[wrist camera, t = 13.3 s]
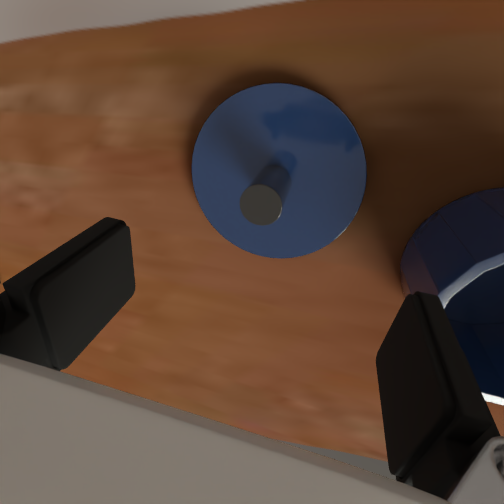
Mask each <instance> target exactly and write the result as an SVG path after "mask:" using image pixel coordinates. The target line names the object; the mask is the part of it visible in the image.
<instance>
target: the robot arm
mask: <svg viewBox="0 0 504 504" xmlns="http://www.w3.org/2000/svg"><path fill="white" fill-rule="evenodd" d="M3 286H4V289H5V291H4V292H2V293H1V294H0V504H504V437H503V436H500V434H499V431H498V429H497V427H496V424H495V422H494V420H493V417H492V415H491V413H490V411H489V408H488V406H487V404H486V401H485V399H484V397H483V395H482V392H481V390H480V388H479V385H478V383H477V381H476V378H475V376H474V374H473V372H472V369H471V367H470V365H469V362H468V360H467V358H466V356H465V353H464V351H463V350H462V348H461V347H460V345H459V343H458V340H457V338H456V336H455V333H454V331H453V329H452V326H451V324H450V322H449V319H448V317H447V315H446V312H445V310H444V308H443V305H442V303H441V301H440V299H439V297H438V296H436V295H432V294H428V293H424V292H420V291H416V292H415V293H414V294H413V295H412V294H408V295H407V296H406V298H405V300H404V302H403V304H402V306H401V308H400V310H399V312H398V314H397V315H396V317H395V319H394V321H393V323H392V325H391V327H390V329H389V331H388V333H387V335H386V337H385V339H384V341H383V343H382V345H381V347H380V349H379V350H378V353H377V357H376V367H377V375H378V383H379V392H380V400H381V408H382V416H383V424H384V432H385V440H386V449H387V457H388V464H389V470H390V472H391V474H393V475H396V481H395V480H393V479H389V478H387V477H384V476H381V475H378V474H375V473H372V472H369V471H366V470H364V469H361V468H358V467H355V466H352V465H349V464H346V463H343V462H340V461H337V460H335V459H331V458H328V457H325V456H322V455H319V454H316V453H313V452H310V451H307V450H304V449H301V448H298V447H294V446H292V445H288V444H285V443H282V442H279V441H276V440H273V439H270V438H267V437H264V436H261V435H258V434H255V433H252V432H249V431H246V430H242V429H239V428H236V427H233V426H230V425H227V424H224V423H221V422H218V421H214V420H211V419H208V418H205V417H202V416H199V415H196V414H193V413H190V412H186V411H183V410H180V409H177V408H174V407H171V406H168V405H165V404H161V403H158V402H155V401H152V400H149V399H146V398H143V397H139V396H136V395H133V394H130V393H127V392H124V391H121V390H117V389H114V388H111V387H108V386H105V385H101V384H98V383H95V382H92V381H89V380H85V379H82V378H79V377H76V376H73V375H70V374H66V373H63V372H60V370H61V369H65V368H67V367H68V366H69V365H70V364H71V363H72V362H73V361H74V360H75V359H76V358H77V357H78V355H79V354H80V353H81V352H82V351H83V350H84V349H85V348H86V347H87V345H88V344H89V343H90V342H91V341H92V340H93V339H94V338H95V337H96V335H97V334H98V333H99V332H100V331H101V330H102V329H103V328H104V327H105V326H106V324H107V323H108V322H109V321H110V320H111V319H112V318H113V317H114V316H115V314H116V313H117V312H118V311H119V310H120V309H121V308H122V307H123V306H124V305H125V303H126V302H127V301H128V300H129V299H130V298H131V297H132V295H133V294H134V291H135V278H134V267H133V257H132V247H131V236H130V229H129V227H128V226H126V223H125V222H124V221H122V220H118V219H114V218H110V217H106V218H104V219H102V220H100V221H99V222H97V223H96V224H94V225H93V226H91V227H90V228H88V229H86V230H85V231H83V232H82V233H80V234H79V235H77V236H76V237H74V238H72V239H71V240H69V241H68V242H66V243H65V244H63V245H62V246H60V247H58V248H57V249H55V250H54V251H52V252H51V253H49V254H48V255H46V256H44V257H43V258H41V259H40V260H38V261H37V262H35V263H34V264H32V265H31V266H29V267H27V268H26V269H24V270H23V271H21V272H20V273H18V274H17V275H15V276H13V277H12V278H10V279H9V280H7V281H6V282H4V283H3Z"/></svg>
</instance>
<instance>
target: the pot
mask: <svg viewBox="0 0 504 504" xmlns="http://www.w3.org/2000/svg"><path fill="white" fill-rule="evenodd" d="M400 275H401V281H402V289H403V292H404V296H405V298H406V296H407V295H408V294H412V295H413V294H414V293H415V292H416V291H420V292H424V293H428V294H432V295H436V296H438V297H439V299H440V301H441V303H442V305H443V308H444V310H445V312H446V315H447V317H448V319H449V322H450V324H451V326H452V329H453V331H454V333H455V336H456V338H457V340H458V343H459V345H460V347H461V348H462V350H463V351H464V353H465V356H466V358H467V360H468V362H469V365H470V367H471V369H472V372H473V374H474V376H475V378H476V381H477V383H478V385H479V388H480V390H481V392H482V395H483V397H484V399H485V401H488V402H492V403H495V404H499V405H503V406H504V187H503V188H494V189H489V190H484V191H480V192H476V193H473V194H470V195H467V196H465V197H462V198H460V199H457V200H455V201H453V202H451V203H449V204H448V205H446V206H444V207H442V208H441V209H439V210H438V211H437V212H435V213H434V214H432V215H431V216H430V217H429V218H428V219H426V220H425V221H424V222H423V223H422V224H421V225H420V226H419V228H418V229H417V230H416V231H415V232H414V234H413V235H412V237H411V238H410V239H409V241H408V243H407V245H406V247H405V250H404V252H403V255H402V260H401V265H400Z"/></svg>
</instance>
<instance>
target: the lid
mask: <svg viewBox="0 0 504 504" xmlns="http://www.w3.org/2000/svg"><path fill="white" fill-rule="evenodd" d="M366 178H367V168H366V159H365V153H364V149H363V146H362V143H361V140H360V137H359V135H358V133H357V131H356V129H355V127H354V126H353V124H352V123H351V121H350V120H349V118H348V117H347V116H346V115H345V113H344V112H343V111H342V110H341V109H340V108H339V107H338V106H337V105H336V104H334V103H333V102H332V101H331V100H329V99H328V98H327V97H325V96H323V95H321V94H320V93H318V92H316V91H314V90H311V89H309V88H306V87H304V86H299V85H295V84H289V83H267V84H261V85H256V86H252V87H249V88H247V89H244V90H242V91H239V92H238V93H236V94H234V95H232V96H231V97H229V98H228V99H226V100H225V101H224V102H223V103H221V104H220V105H219V106H218V107H217V108H216V109H215V110H214V111H213V112H212V113H211V115H210V116H209V117H208V119H207V120H206V122H205V123H204V125H203V127H202V129H201V131H200V132H199V135H198V137H197V140H196V143H195V147H194V151H193V157H192V180H193V186H194V190H195V194H196V197H197V200H198V202H199V205H200V207H201V209H202V211H203V213H204V214H205V216H206V218H207V219H208V220H209V222H210V223H211V225H212V226H213V227H214V228H215V229H216V230H217V231H218V232H219V233H220V234H221V235H222V236H223V237H224V238H225V239H227V240H228V241H230V242H231V243H232V244H234V245H236V246H237V247H239V248H241V249H243V250H245V251H248V252H250V253H253V254H256V255H260V256H264V257H270V258H293V257H298V256H303V255H306V254H309V253H312V252H315V251H317V250H319V249H321V248H323V247H324V246H326V245H328V244H329V243H331V242H332V241H333V240H335V239H336V238H337V237H338V236H339V235H340V234H341V233H342V232H343V231H344V230H345V229H346V228H347V227H348V226H349V224H350V223H351V222H352V220H353V219H354V217H355V215H356V213H357V212H358V210H359V207H360V205H361V202H362V200H363V196H364V192H365V187H366Z"/></svg>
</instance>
